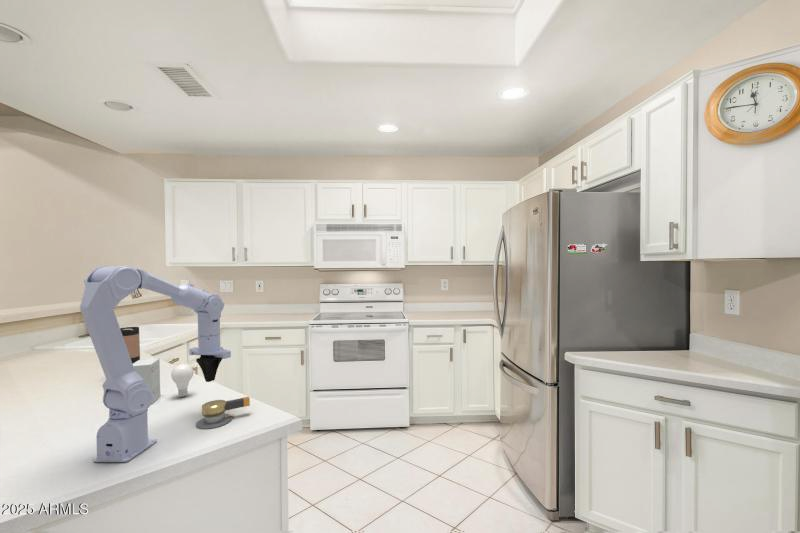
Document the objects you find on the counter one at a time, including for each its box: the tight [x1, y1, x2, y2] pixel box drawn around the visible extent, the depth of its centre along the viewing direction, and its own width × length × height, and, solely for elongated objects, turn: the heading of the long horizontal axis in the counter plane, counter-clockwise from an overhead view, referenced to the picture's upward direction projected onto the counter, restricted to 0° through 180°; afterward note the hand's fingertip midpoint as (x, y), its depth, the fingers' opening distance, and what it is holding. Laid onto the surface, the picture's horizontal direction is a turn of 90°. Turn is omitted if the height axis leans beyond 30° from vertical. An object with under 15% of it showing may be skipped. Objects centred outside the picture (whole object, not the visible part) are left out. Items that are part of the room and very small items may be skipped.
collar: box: [201, 396, 251, 418], centre depth 99 cm, size 12×6×2 cm, turn 121°
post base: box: [195, 413, 235, 430], centre depth 98 cm, size 9×9×2 cm
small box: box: [133, 358, 161, 405], centre depth 114 cm, size 8×6×13 cm
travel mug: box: [120, 326, 141, 364], centre depth 139 cm, size 8×8×20 cm
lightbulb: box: [170, 363, 194, 398], centre depth 118 cm, size 6×6×11 cm
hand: (210, 380), depth 103 cm, fingers closed
